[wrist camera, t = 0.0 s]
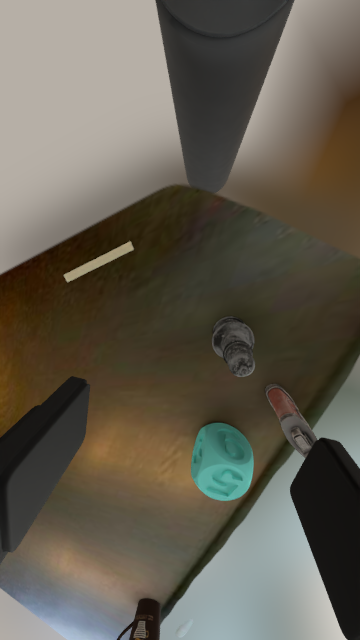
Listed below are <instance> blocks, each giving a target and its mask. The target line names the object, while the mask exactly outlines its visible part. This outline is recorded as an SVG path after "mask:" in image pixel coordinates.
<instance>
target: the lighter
mask: <svg viewBox="0 0 360 640" xmlns="http://www.w3.org/2000/svg"><path fill="white" fill-rule="evenodd" d="M265 393H266V395H267V397H268V400H269V402H270V404H271V405H272V407H273V408H274V410H275V411H276V414H277V416H278V418H279V422H280V425H281V427H282V429H283V432H284V434H285V436H286V437H287V439H288V440H289V442H290V444H291V445H292V446H293V447H294V448H295V449H296V450H297V451H298V452H299V453H300V454H301V455H303V456H304V457H305V458H306V457H307V455H308V453H309V451H310V450H311V448H312V446H313V444H314V442H315V441H317V438H316V436H315V435H314V433H313V431H312V430H311V428H310V427H309V425H308V424H307V422H306V420H305V419H304V417H303V416H302V414H301V413H300V412H299V411H298V408H297V406H296V405H295V403H294V401H293V400H292V398H291V397H290V396H289V394H288V393H287V392H286V391H285V390H284V389H283V388H282V387H281V386H280V385H278V384H271V385H269V386H267V388H266V389H265Z"/></svg>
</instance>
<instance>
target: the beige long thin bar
mask: <svg viewBox="0 0 360 640" xmlns="http://www.w3.org/2000/svg"><path fill="white" fill-rule="evenodd" d="M132 250H134V248H133V246H132V244H131V241H130V242H128V243H126V244H124V245H122V246H120V247H118V248H116V249H114V250H112V251H110V252H108V253H106V254H104V255H102V256H100V257H98V258H96V259H94V260H92V261H90V262H88V263H86V264H84V265H82V266H80V267H78V268H77V269H75V270H73V271H71V272H69V273H67V274H65V275H64V277H65V279H66V281H67V282H69V281H71V280H73V279H75V278H77V277H79V276H81V275H83V274H85V273H87V272H90V271H92V270H94V269H96V268H98V267H100V266H102V265H104V264H106V263H108V262H110V261H112V260H114V259H116V258H118V257H120V256H122V255H124V254H126V253H128V252H130V251H132Z"/></svg>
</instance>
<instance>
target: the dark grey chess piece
mask: <svg viewBox="0 0 360 640" xmlns="http://www.w3.org/2000/svg"><path fill="white" fill-rule="evenodd" d="M212 346H213V348H214V350H215V352H216V353H217V354H218V355H219V356H220V357H222V358H224V360H225V361H226V363H228V366H229V369H230V371H231V372H232V373H233V374H234V375H236V376H239V377H244V376H248V375H250V374H251V373H252V372H253V370H254V368H255V362H254V359H253V357H252V355H253V351H252V348H253V346H254V335H253V332H252V331H251V329H250V328H249V327H248V326H247V325H245V324H244V322H243V321H242V320H240V319H239V318H237V317H232V316H230V317H224V318H222V319H220V320H219V321H218V322H217V323H216V324H215V326H214V328H213V338H212Z"/></svg>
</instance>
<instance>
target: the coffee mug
mask: <svg viewBox="0 0 360 640" xmlns="http://www.w3.org/2000/svg"><path fill="white" fill-rule="evenodd" d="M160 614H161V606H160V604H159V603H158V602H157V601H155V600H152V599H141V600H140V601H139V603H138V607H137V611H136V615H135V619H134V621H133V622H132V623H131V624H130V625H129V626H128V627H127V628H126V629H125V630H124V631H123V632H122V633H121V634H120V636H119V637H118V638H117V640H120V638H121V637H122V636H123V635H124V634H125V633H126V632H127V631H128V630H129V629H130V628H131V627H132V626H133V627H132V631H131V635H130V638H129V640H159V637H160Z"/></svg>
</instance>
